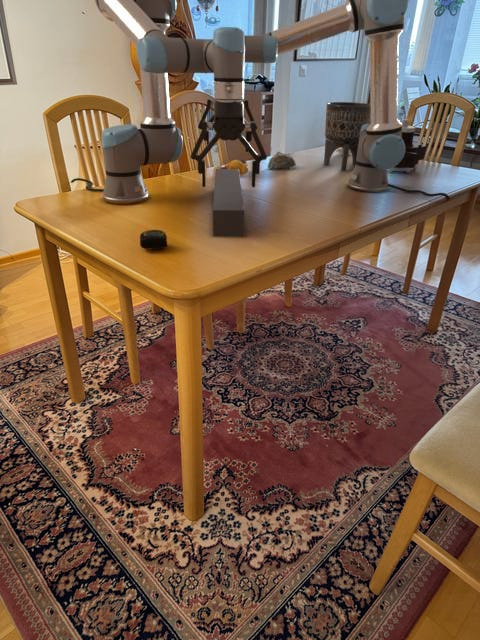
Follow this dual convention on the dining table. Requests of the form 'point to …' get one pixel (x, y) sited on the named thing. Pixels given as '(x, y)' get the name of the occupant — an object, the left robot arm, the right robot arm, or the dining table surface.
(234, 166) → the toy
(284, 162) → the rock
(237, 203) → the long gray bar
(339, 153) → the figurine
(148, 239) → the tape measure
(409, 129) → the mechanical component
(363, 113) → the planter
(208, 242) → the dining table surface
